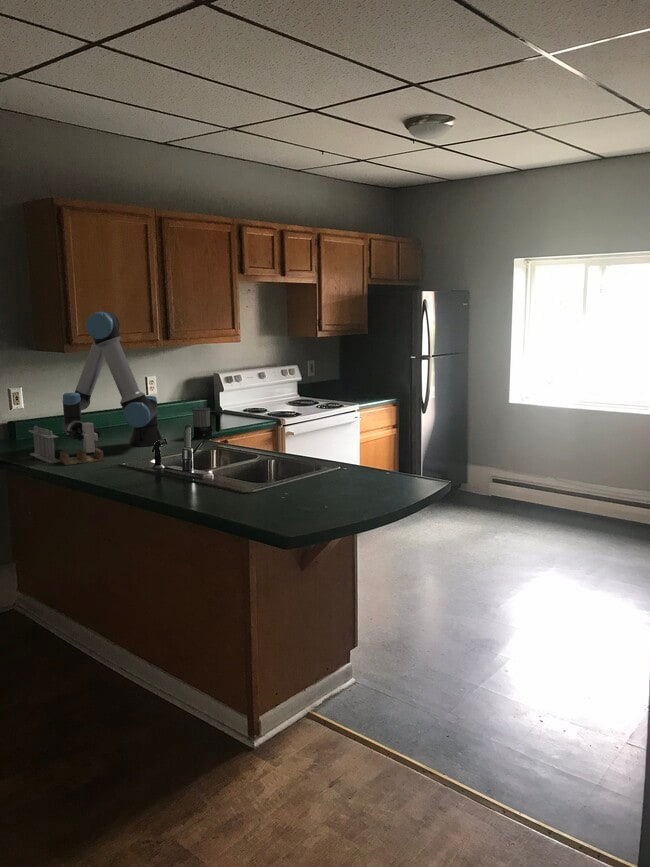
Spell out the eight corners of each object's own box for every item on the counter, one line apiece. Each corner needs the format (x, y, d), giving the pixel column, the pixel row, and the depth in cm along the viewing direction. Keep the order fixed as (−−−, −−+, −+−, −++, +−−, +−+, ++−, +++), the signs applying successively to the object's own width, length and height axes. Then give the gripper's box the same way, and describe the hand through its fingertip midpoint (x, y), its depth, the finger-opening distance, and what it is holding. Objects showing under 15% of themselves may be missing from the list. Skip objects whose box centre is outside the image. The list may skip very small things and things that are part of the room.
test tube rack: (29, 455, 318) (27, 425, 316) (39, 453, 321) (37, 424, 319) (50, 463, 299) (47, 432, 297) (60, 462, 302) (58, 431, 300)
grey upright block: (91, 450, 309) (90, 422, 307) (94, 452, 305) (93, 423, 303) (83, 450, 307) (82, 423, 305) (86, 452, 303) (85, 424, 301)
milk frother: (198, 440, 354) (197, 410, 351) (183, 436, 366) (182, 407, 364) (223, 437, 362) (222, 407, 360) (208, 433, 375) (207, 404, 372)
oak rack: (98, 456, 313) (97, 447, 312) (104, 460, 304) (103, 451, 304) (59, 460, 304) (59, 451, 304) (65, 465, 296) (64, 455, 295)
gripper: (97, 437, 325) (112, 444, 305) (59, 440, 316) (71, 448, 296) (96, 420, 323) (111, 427, 304) (58, 423, 315) (70, 430, 295)
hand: (91, 437), depth 300 cm, fingers closed on grey upright block, 3 cm apart
